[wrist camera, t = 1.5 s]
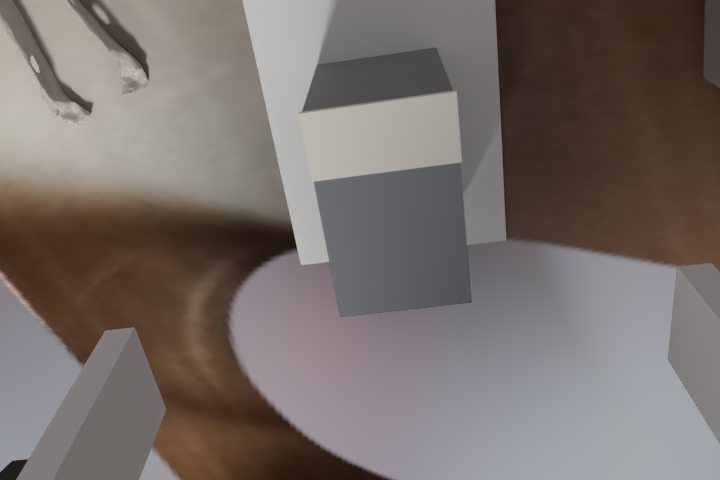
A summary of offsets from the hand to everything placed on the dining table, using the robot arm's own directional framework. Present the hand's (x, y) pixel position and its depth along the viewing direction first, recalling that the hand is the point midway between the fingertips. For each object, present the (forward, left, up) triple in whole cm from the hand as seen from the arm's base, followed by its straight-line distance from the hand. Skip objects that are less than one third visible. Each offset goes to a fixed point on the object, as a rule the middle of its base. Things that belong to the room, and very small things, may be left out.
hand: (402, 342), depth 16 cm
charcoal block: (0, 0, -15) cm, 15 cm away
